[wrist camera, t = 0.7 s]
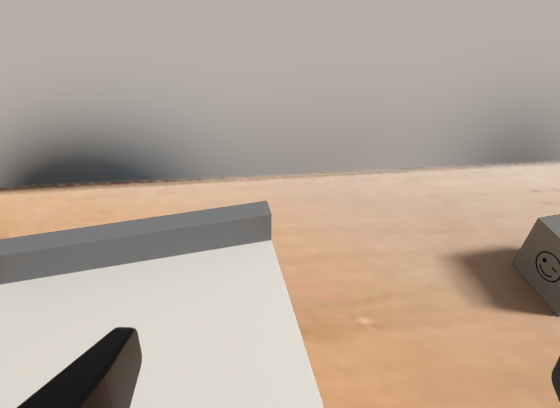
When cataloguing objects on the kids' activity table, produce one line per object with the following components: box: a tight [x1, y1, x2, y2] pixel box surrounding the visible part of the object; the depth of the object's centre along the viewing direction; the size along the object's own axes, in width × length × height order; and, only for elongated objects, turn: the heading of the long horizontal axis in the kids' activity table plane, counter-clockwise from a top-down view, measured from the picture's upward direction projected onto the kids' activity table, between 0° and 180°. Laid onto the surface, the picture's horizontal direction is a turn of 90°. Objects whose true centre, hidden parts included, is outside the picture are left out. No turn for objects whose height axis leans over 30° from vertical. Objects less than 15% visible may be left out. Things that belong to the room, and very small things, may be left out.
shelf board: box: [0, 201, 324, 408], centre depth 22 cm, size 18×18×6 cm
